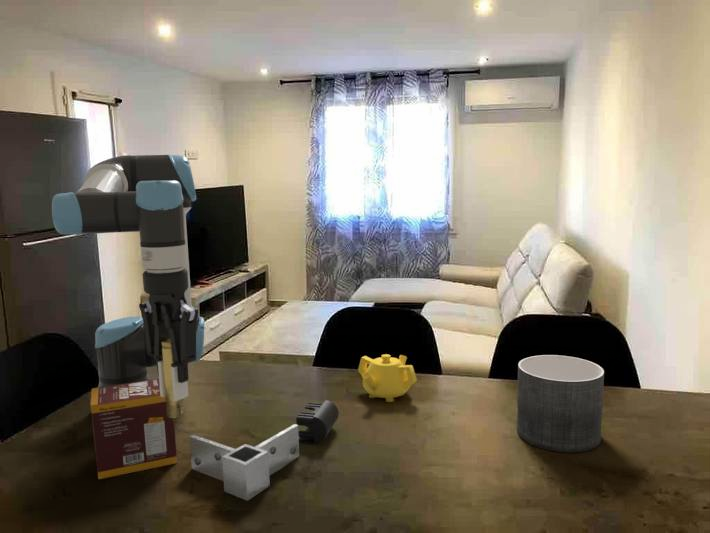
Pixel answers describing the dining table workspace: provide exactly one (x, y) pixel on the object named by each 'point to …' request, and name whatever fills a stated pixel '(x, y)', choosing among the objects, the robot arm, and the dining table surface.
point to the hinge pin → (170, 382)
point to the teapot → (386, 376)
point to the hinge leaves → (245, 461)
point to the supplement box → (131, 428)
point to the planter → (560, 403)
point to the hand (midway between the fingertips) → (174, 396)
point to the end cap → (316, 422)
